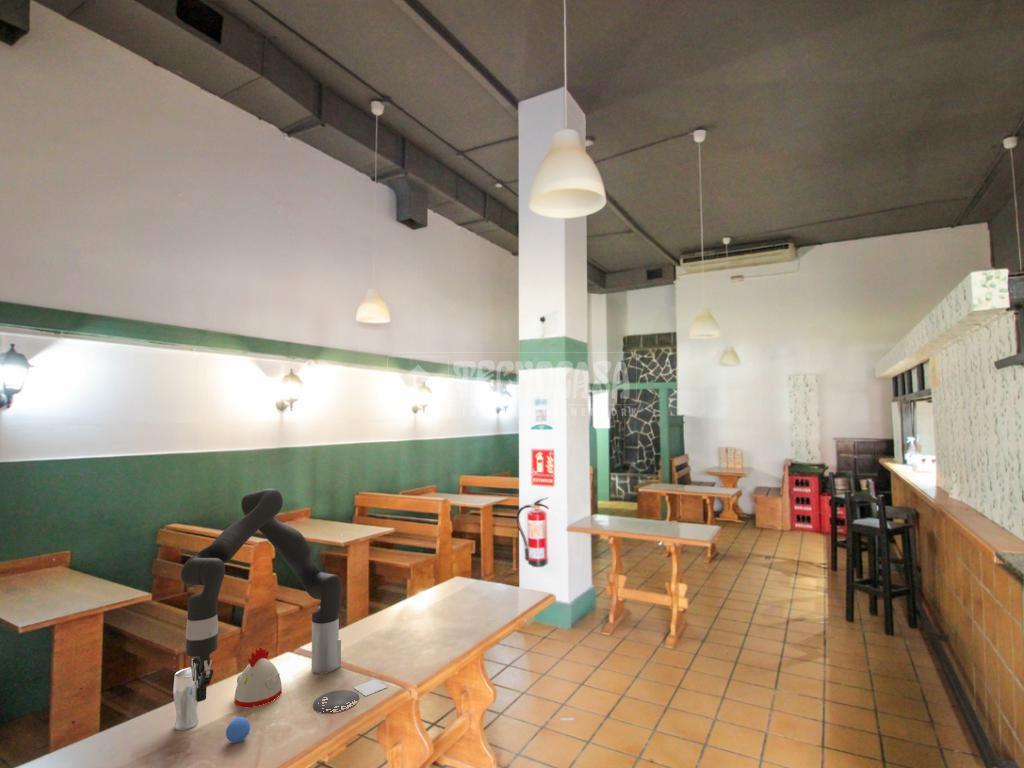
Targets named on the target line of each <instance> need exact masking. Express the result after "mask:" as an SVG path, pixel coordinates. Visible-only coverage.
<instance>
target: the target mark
mask: <svg viewBox="0 0 1024 768" xmlns="http://www.w3.org/2000/svg"><path fill="white" fill-rule="evenodd" d="M323 697H327V698H328V700H325V701H322V699H326V698H323ZM354 700H355V701H358V700H359V701H360V695H359V693H358V692H357V691H353V690H351V689H350V690H349V689H338V690H333V691H329V692H326V693H324V694H322V695H320V696H319V697H317V698H316V699H315V700H314V702H313V703H312V708H314V709H313V710H314V711H315V710H316V712H317V711H318V712H317V713H319V712H321V713H320V714H325V713H331V714H334V713H333V711H332V710H333V709H338V710H336V711H339V710H341V706H346V707H347V705H349V704H350V703H352V701H353V702H354ZM359 701H358V702H359ZM322 702H327V703H324V704H322ZM348 702H350V703H348ZM318 703H319V704H318ZM346 703H348V704H346ZM322 705H325V706H322ZM351 705H353V704H351ZM335 706H339V707H337V708H334V707H335ZM346 707H343V708H346ZM322 708H324V709H322ZM349 708H350V707H349ZM351 708H353V707H352V706H351ZM351 708H350V709H351ZM326 709H331V710H328V711H326ZM344 710H345V711H347V710H346V709H344ZM323 711H324V712H323ZM330 711H332V712H330ZM341 711H342V712H344V711H343V710H341ZM338 713H341V712H340V711H339V712H338Z"/></svg>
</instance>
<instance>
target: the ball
mask: <svg viewBox="0 0 1024 768" xmlns="http://www.w3.org/2000/svg"><path fill="white" fill-rule="evenodd" d="M250 731H251V723H250V721H249V720H248V719H247V718H246V717H242V716H239V717H236V718H234V719H233V720H231V721H230V722H229V724H228V725H227V727H226V730H225V735H226V738H227V740H228V741H229V742H230V743H233V744H237V743H240V742H242V741H244V740H245V739H246V738H247V737H248V736H249V733H250Z"/></svg>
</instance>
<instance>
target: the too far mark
mask: <svg viewBox="0 0 1024 768" xmlns="http://www.w3.org/2000/svg"><path fill="white" fill-rule="evenodd" d="M353 689H354V690H355V689H356V690H355V691H356V692H358V691H359V692H358V693H360V694H361V693H362V694H361V695H363V696H364V695H365V696H366V697H368V696H371V695H373V694H375V692H376V693H377V692H380V691H382V690H386V689H388V686H386V684H384V683H382V682H380V681H379V680H378V679H372V680H369V681H367V682H364V683H360V684H359V685H357V686H356V685H355V686H354V687H353ZM370 694H371V695H370ZM365 696H364V697H365Z"/></svg>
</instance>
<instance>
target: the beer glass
mask: <svg viewBox="0 0 1024 768" xmlns="http://www.w3.org/2000/svg"><path fill="white" fill-rule="evenodd" d="M173 679H174V681H173V689H172V690H173V691H172V692H173V701H174V707H175V713H176V714H175V715H176V717H175V722H174V730H175V731H179V732H181V731H188V730H189V729H190V730H191V729H192V728H194V727H195V726H197V725H198V724H199V717H198V705H199V702H197V701H196V686H195V685H194V683H195V681H193V676H192V670H191V667H186V668H183V669H181V670H179V671H177V672H176V673H175V674H174V678H173Z"/></svg>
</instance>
